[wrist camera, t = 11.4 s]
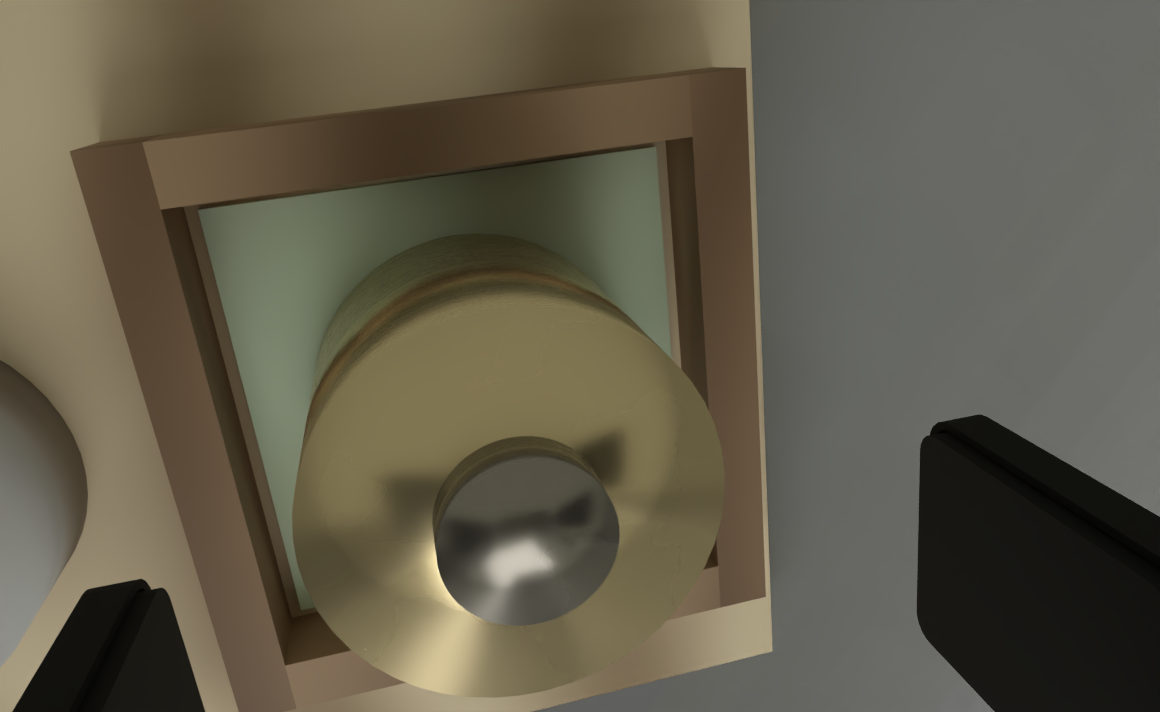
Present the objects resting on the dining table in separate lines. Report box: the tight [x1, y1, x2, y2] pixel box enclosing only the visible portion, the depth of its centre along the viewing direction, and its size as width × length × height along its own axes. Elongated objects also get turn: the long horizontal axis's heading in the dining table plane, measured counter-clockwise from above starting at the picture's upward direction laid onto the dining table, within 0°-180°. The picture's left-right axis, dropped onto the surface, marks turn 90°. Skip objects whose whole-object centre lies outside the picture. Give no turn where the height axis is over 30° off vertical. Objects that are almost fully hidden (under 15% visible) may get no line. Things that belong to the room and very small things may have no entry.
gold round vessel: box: [292, 233, 725, 698], centre depth 14 cm, size 6×6×6 cm
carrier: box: [0, 0, 772, 712], centre depth 15 cm, size 20×16×5 cm
